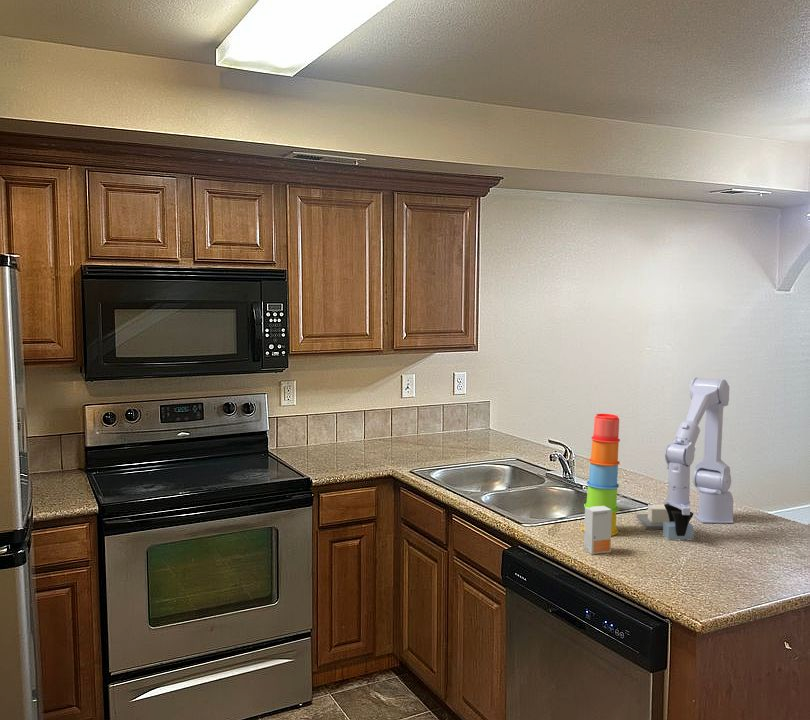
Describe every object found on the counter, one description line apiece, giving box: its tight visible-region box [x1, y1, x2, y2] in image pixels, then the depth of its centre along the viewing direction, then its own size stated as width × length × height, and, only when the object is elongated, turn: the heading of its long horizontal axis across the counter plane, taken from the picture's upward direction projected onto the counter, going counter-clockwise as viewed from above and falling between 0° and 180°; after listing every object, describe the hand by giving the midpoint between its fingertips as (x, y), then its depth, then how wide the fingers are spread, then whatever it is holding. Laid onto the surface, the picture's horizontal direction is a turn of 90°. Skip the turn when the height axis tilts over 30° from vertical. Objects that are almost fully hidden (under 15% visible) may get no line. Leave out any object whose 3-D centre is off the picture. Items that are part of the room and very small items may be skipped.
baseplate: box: [636, 513, 663, 531], centre depth 231 cm, size 12×12×1 cm
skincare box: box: [583, 506, 612, 555], centre depth 207 cm, size 6×4×12 cm
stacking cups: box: [581, 413, 621, 537], centre depth 223 cm, size 10×10×35 cm
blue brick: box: [662, 522, 694, 540], centre depth 218 cm, size 7×4×4 cm, turn 90°
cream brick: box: [647, 504, 670, 522], centre depth 231 cm, size 7×4×4 cm, turn 87°
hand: (677, 532), depth 218 cm, fingers closed on blue brick, 5 cm apart
